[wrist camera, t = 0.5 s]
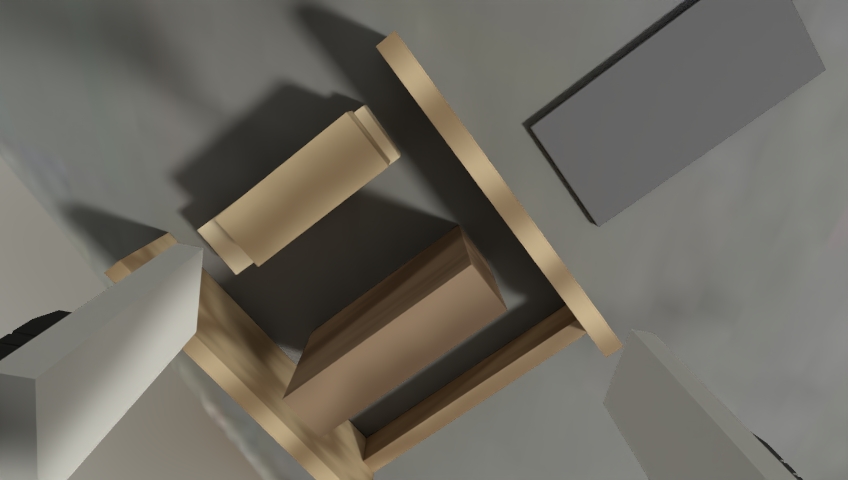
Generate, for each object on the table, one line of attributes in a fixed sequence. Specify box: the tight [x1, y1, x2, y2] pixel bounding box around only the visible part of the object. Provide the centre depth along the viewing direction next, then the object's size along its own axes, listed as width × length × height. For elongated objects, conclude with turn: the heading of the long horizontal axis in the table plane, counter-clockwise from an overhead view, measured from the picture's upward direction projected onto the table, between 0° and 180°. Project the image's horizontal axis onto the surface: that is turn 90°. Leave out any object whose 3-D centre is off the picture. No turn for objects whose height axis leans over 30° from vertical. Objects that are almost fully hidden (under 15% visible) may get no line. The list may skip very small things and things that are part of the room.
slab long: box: [197, 105, 401, 275], centre depth 38 cm, size 4×16×3 cm, turn 125°
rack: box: [105, 31, 623, 480], centre depth 38 cm, size 27×26×7 cm
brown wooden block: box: [282, 225, 507, 438], centre depth 38 cm, size 4×16×10 cm, turn 127°
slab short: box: [215, 111, 391, 267], centre depth 35 cm, size 4×12×3 cm, turn 127°
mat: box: [529, 0, 826, 227], centre depth 38 cm, size 10×20×1 cm, turn 127°
